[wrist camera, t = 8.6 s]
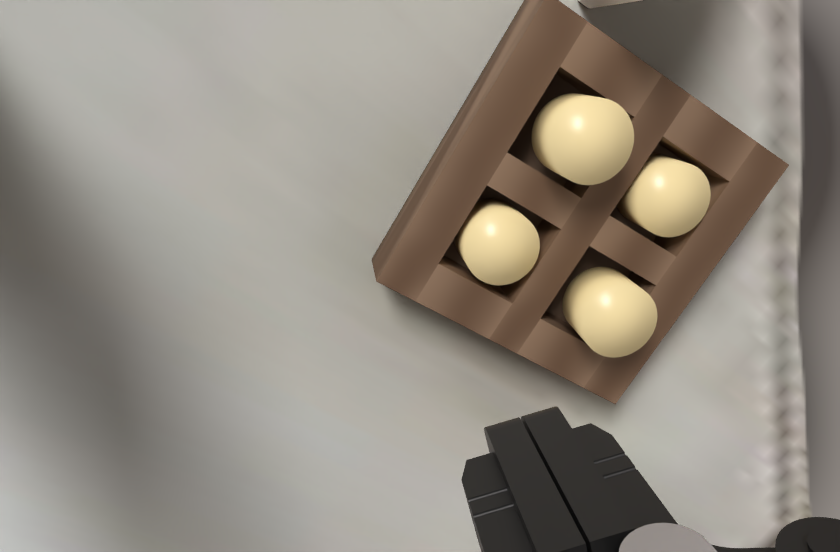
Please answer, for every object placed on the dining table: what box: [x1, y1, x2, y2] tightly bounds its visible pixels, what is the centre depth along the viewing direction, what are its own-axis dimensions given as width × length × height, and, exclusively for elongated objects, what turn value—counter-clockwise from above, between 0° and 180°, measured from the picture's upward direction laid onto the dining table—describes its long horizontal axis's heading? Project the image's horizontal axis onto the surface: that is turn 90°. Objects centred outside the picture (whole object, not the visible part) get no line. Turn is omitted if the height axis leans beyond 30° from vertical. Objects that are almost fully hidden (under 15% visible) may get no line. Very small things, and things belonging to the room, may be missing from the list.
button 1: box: [454, 198, 540, 285], centre depth 37 cm, size 4×4×3 cm
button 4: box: [616, 153, 711, 237], centre depth 37 cm, size 4×4×3 cm
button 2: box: [562, 267, 657, 358], centre depth 37 cm, size 4×4×3 cm
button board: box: [372, 0, 789, 404], centre depth 38 cm, size 17×17×4 cm
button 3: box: [532, 93, 634, 185], centre depth 33 cm, size 4×4×3 cm
